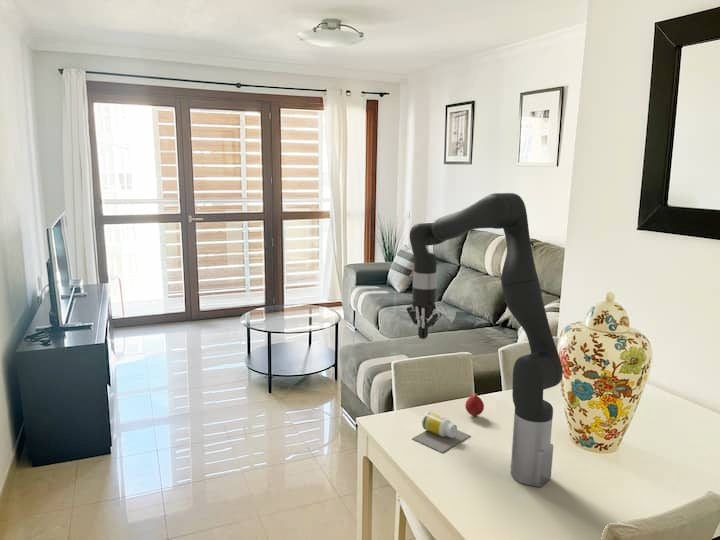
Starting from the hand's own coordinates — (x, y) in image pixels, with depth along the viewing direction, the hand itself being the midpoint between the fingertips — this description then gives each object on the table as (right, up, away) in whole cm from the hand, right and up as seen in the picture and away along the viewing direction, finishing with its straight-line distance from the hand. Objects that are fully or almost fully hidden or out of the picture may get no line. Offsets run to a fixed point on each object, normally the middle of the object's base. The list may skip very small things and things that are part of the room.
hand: (422, 338), depth 170 cm
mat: (+4, -28, -14) cm, 31 cm away
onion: (+17, -26, 0) cm, 31 cm away
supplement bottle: (0, -24, -9) cm, 26 cm away
